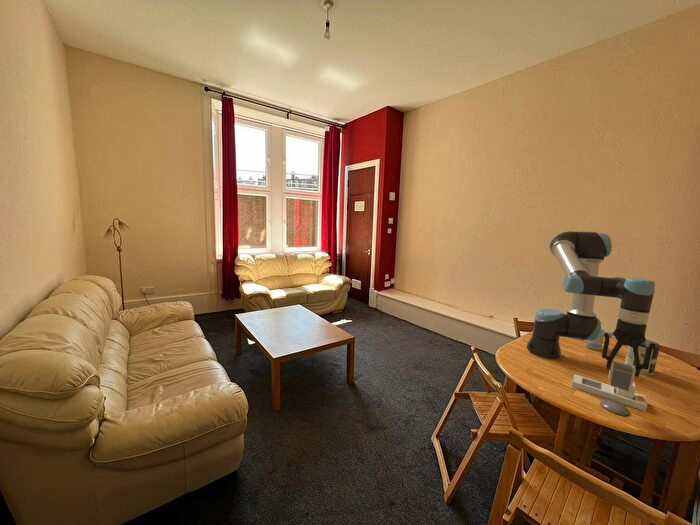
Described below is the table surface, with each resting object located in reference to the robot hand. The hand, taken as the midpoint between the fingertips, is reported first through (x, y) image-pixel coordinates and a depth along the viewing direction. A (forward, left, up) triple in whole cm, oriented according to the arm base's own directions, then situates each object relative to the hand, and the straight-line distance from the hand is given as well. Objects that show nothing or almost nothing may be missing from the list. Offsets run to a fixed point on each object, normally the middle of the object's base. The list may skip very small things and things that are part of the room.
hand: (620, 380), depth 105 cm
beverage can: (-7, +62, -12) cm, 64 cm away
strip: (-2, +10, -12) cm, 16 cm away
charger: (0, 0, -2) cm, 2 cm away
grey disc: (0, 0, -12) cm, 12 cm away
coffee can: (+10, +48, -12) cm, 51 cm away
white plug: (+3, +10, -10) cm, 15 cm away
